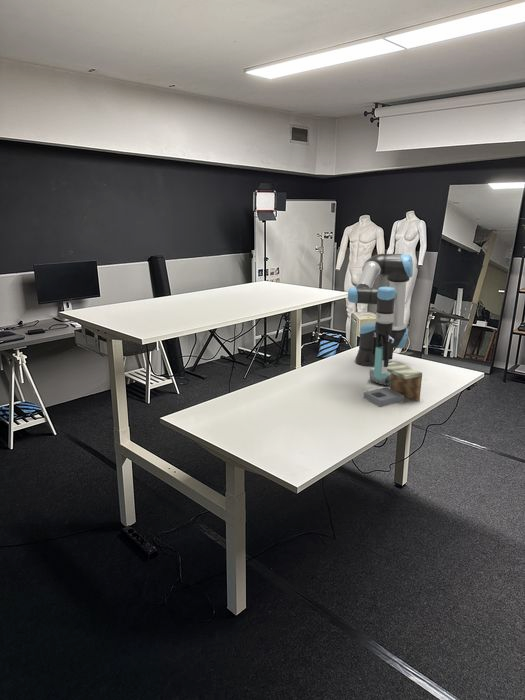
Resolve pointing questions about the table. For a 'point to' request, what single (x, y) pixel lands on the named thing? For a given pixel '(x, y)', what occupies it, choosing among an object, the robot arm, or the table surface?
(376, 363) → the peg
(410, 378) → the wood grain block
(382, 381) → the grey yarn spool
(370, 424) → the table surface
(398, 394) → the socket
